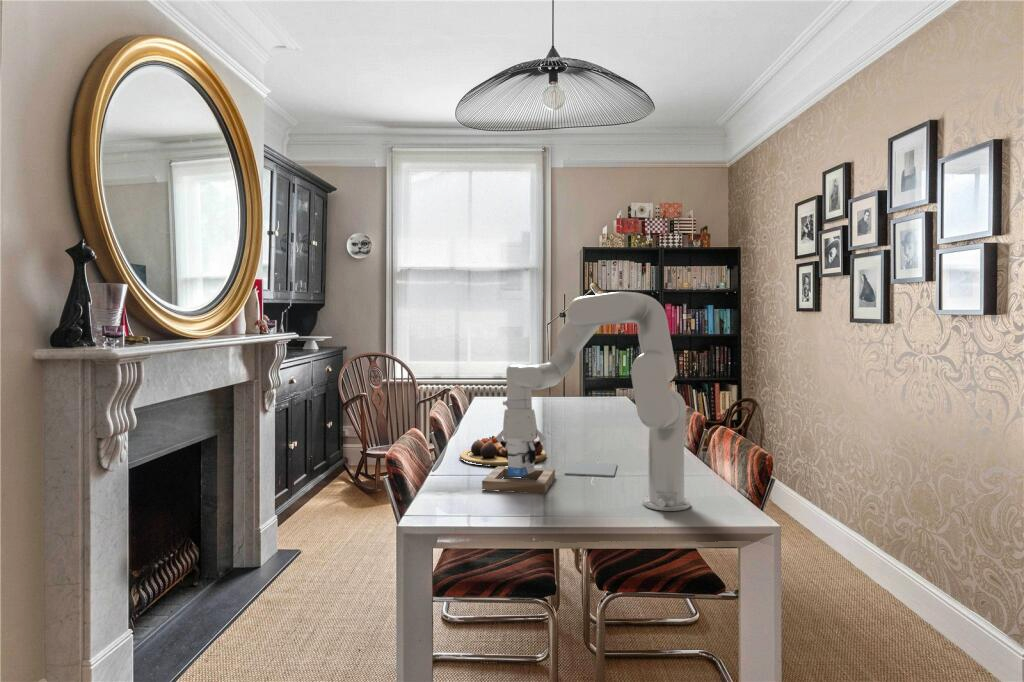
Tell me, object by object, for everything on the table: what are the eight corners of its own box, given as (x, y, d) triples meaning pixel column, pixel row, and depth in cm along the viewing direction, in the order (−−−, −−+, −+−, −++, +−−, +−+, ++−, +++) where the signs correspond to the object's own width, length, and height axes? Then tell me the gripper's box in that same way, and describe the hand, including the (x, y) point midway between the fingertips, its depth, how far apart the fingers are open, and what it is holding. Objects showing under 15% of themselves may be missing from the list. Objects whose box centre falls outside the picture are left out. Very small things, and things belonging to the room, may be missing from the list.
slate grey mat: (613, 477, 206) (614, 475, 206) (564, 474, 209) (564, 473, 209) (617, 465, 221) (617, 463, 221) (571, 463, 225) (571, 462, 225)
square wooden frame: (544, 494, 187) (544, 483, 187) (482, 490, 191) (482, 480, 191) (554, 477, 205) (554, 468, 205) (497, 475, 210) (497, 466, 209)
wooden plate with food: (562, 455, 240) (562, 433, 239) (513, 472, 214) (513, 447, 213) (494, 448, 258) (494, 427, 258) (441, 462, 232) (441, 439, 232)
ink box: (521, 477, 193) (520, 438, 193) (507, 475, 195) (506, 437, 195) (535, 471, 200) (534, 434, 200) (521, 470, 203) (520, 433, 202)
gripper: (489, 406, 195) (491, 464, 196) (545, 406, 192) (546, 465, 192) (495, 403, 203) (497, 459, 203) (549, 403, 199) (550, 460, 199)
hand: (521, 461), depth 198 cm, fingers closed on ink box, 6 cm apart
